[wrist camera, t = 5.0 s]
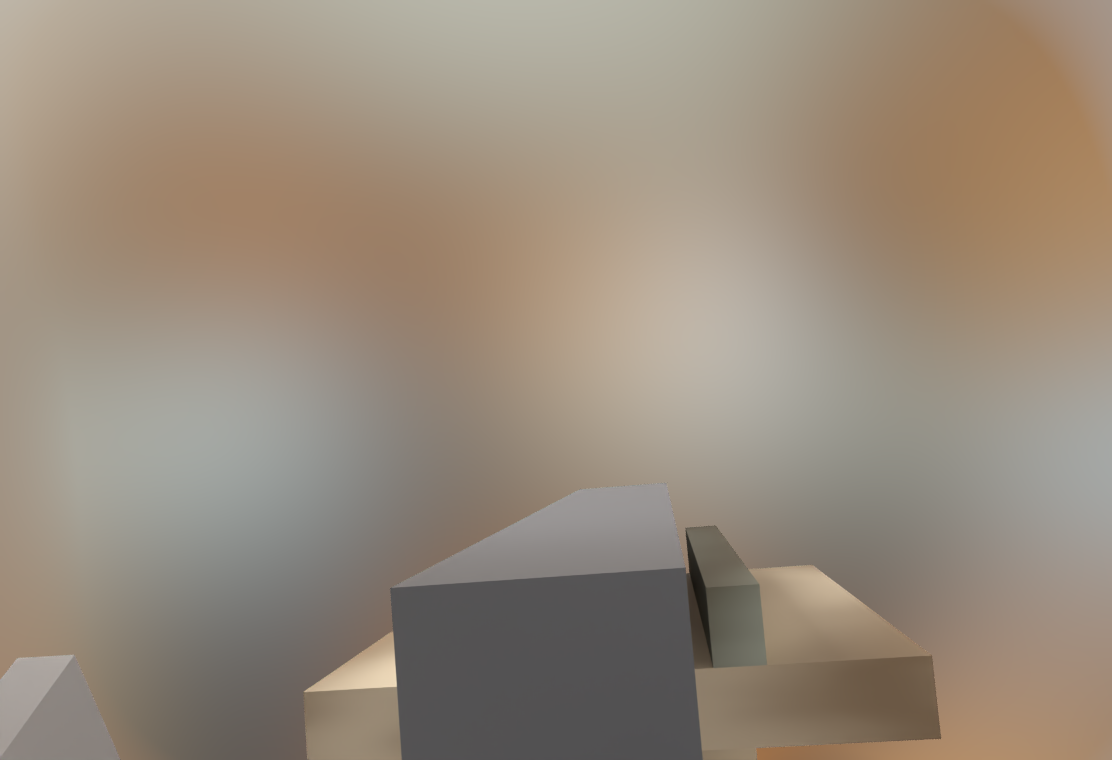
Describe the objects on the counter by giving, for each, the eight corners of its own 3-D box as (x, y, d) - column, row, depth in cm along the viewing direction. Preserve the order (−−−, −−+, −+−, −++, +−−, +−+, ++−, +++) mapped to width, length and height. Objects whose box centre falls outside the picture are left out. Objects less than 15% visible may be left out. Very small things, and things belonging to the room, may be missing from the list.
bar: (410, 892, 10) (389, 587, 10) (586, 576, 33) (579, 489, 34) (713, 880, 9) (685, 567, 10) (674, 570, 33) (666, 482, 33)
